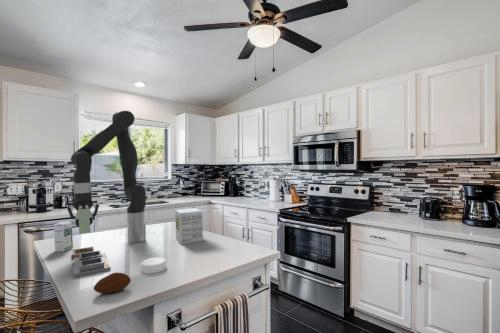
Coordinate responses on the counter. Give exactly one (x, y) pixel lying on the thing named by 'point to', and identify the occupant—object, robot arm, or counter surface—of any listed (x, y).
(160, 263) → the coaster
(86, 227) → the peg
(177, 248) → the counter surface
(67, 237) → the syrup box
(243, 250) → the counter surface
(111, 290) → the potato
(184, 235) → the supplement box
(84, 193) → the robot arm
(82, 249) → the bracket
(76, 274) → the rack
